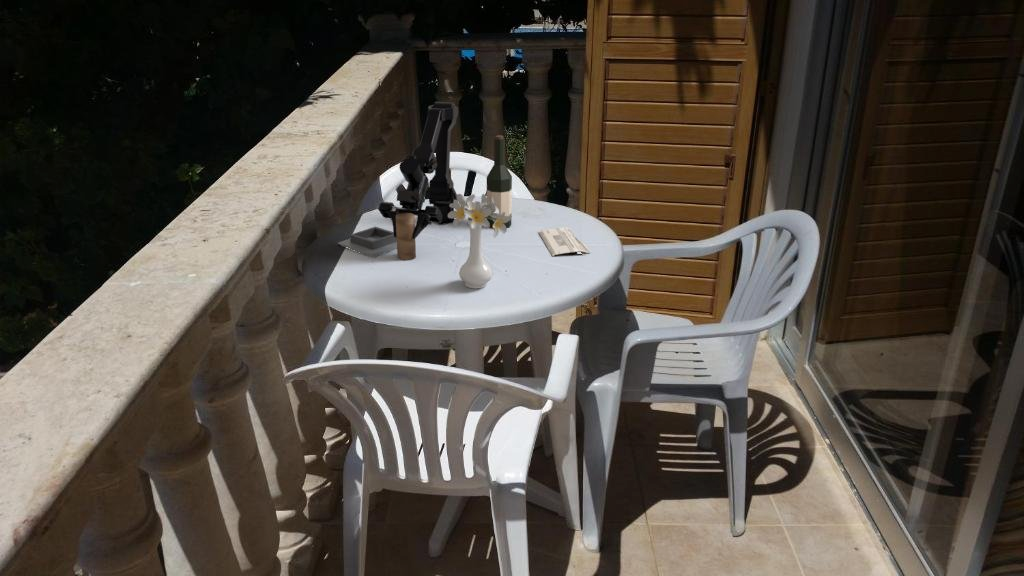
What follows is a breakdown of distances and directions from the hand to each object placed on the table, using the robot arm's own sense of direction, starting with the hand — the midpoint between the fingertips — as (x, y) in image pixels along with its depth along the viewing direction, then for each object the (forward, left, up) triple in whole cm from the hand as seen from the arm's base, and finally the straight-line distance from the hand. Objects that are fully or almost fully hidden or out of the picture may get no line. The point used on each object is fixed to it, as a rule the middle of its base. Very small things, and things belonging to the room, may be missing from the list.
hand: (404, 237), depth 240 cm
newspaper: (-48, +16, -7) cm, 51 cm away
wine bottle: (-41, -10, -7) cm, 43 cm away
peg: (-1, -1, -7) cm, 7 cm away
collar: (+2, -16, -7) cm, 17 cm away
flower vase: (-7, +29, -7) cm, 31 cm away
